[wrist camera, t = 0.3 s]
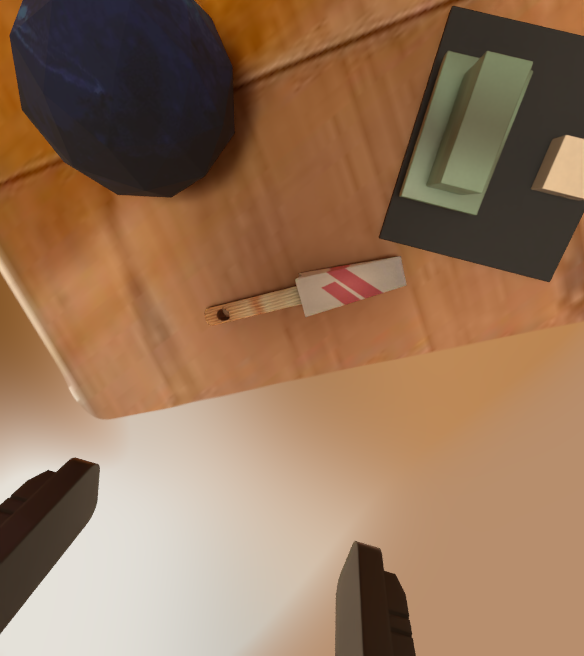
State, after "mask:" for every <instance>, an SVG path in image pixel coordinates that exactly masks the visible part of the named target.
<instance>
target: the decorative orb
mask: <svg viewBox="0 0 584 656" xmlns="http://www.w3.org/2000/svg"><path fill="white" fill-rule="evenodd" d="M10 41H11V47H12V53H13V59H14V65H15V71H16V77H17V83H18V89H19V95H20V101H21V107H22V111H23V112H24V113H25V114H26V115H27V117H28V118H29V119H30V120H31V122H32V123H33V124H34V125H35V127H36V128H37V129H38V130H39V131H40V133H41V134H42V135H43V136H44V138H45V139H46V140H47V141H48V143H49V144H50V145H51V146H52V147H53V149H54V150H55V151H56V152H57V154H58V155H59V156H60V157H61V159H62V160H63V161H64V162H65V163H67V164H68V165H70V166H72V167H73V168H75V169H76V170H78V171H80V172H81V173H83V174H85V175H86V176H88V177H90V178H91V179H93V180H94V181H96V182H98V183H99V184H101V185H103V186H104V187H106V188H108V189H109V190H111V191H112V192H114V193H116V194H117V195H133V196H153V197H173V196H174V195H176V194H177V193H179V192H181V191H182V190H184V189H185V188H187V187H188V186H190V185H192V184H193V183H195V182H196V181H198V180H199V179H201V178H203V177H204V176H205V175H206V174H207V172H208V171H209V170H210V168H211V167H212V165H213V164H214V162H215V161H216V159H217V158H218V156H219V155H220V153H221V152H222V151H223V149H224V148H225V146H226V145H227V143H228V142H229V140H230V139H231V137H232V136H233V134H234V133H235V131H234V99H233V67H232V64H231V62H230V60H229V57H228V55H227V53H226V51H225V48H224V46H223V44H222V41H221V39H220V37H219V35H218V32H217V30H216V28H215V25H214V23H213V21H212V19H211V17H210V16H209V15H208V14H207V13H206V12H205V11H204V10H203V9H202V8H201V7H200V6H199V5H198V4H197V3H196V2H195V1H194V0H23V1H22V4H21V6H20V9H19V12H18V14H17V17H16V20H15V22H14V25H13V28H12V30H11V33H10Z"/></svg>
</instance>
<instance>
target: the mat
mask: <svg viewBox="0 0 584 656" xmlns="http://www.w3.org/2000/svg"><path fill="white" fill-rule="evenodd" d="M447 51H452V52H456V53H460V54H465V55H469V56H473V57H477V58H481V57H482V56H483V55H484V54H485V53H486V51H490V52H495V53H499V54H503V55H507V56H512V57H516V58H520V59H524V60H529V61H533V65H532V67H531V70H532V71H533V74H532V76H531V79H530V81H529V84H528V86H527V89H526V91H525V94H524V96H523V99H522V101H521V104H520V107H519V109H518V112H517V114H516V117H515V119H514V122H513V124H512V127H511V129H510V132H509V134H508V137H507V139H506V142H505V145H504V147H503V150H502V152H501V155H500V157H499V160H498V162H497V165H496V167H495V170H494V172H493V175H492V177H491V180H490V182H489V185H488V188H487V190H486V193H485V195H484V198H483V200H482V203H481V205H480V208H479V210H478V213H477V215H469V214H465V213H462V212H458V211H454V210H450V209H446V208H442V207H438V206H434V205H430V204H426V203H422V202H418V201H414V200H410V199H406V198H402V197H399V194H400V191H401V188H402V185H403V182H404V179H405V175H406V172H407V169H408V166H409V163H410V160H411V157H412V154H413V150H414V147H415V144H416V141H417V138H418V135H419V132H420V129H421V126H422V122H423V119H424V116H425V113H426V110H427V107H428V104H429V101H430V97H431V94H432V91H433V88H434V85H435V82H436V79H437V76H438V72H439V69H440V66H441V63H442V60H443V57H444V56H445V54H446V53H447ZM564 135H570V136H574V137H578V138H582V139H584V36H581V35H577V34H572V33H568V32H564V31H559V30H555V29H551V28H546V27H542V26H538V25H534V24H529V23H525V22H521V21H516V20H512V19H508V18H503V17H499V16H495V15H491V14H486V13H482V12H478V11H473V10H469V9H465V8H460V7H456V6H453V7H452V8H451V10H450V13H449V17H448V20H447V23H446V26H445V29H444V33H443V36H442V39H441V42H440V45H439V48H438V52H437V55H436V58H435V61H434V64H433V68H432V71H431V74H430V77H429V80H428V83H427V87H426V90H425V93H424V96H423V99H422V103H421V106H420V109H419V112H418V115H417V118H416V122H415V125H414V128H413V131H412V134H411V138H410V141H409V144H408V147H407V150H406V153H405V157H404V160H403V163H402V166H401V169H400V173H399V176H398V179H397V182H396V185H395V188H394V192H393V195H392V198H391V201H390V204H389V207H388V211H387V214H386V217H385V220H384V223H383V227H382V230H381V233H380V236H379V238H381V239H384V240H388V241H392V242H396V243H400V244H404V245H408V246H411V247H415V248H419V249H423V250H427V251H431V252H435V253H439V254H442V255H446V256H450V257H454V258H458V259H462V260H466V261H469V262H473V263H477V264H481V265H485V266H489V267H493V268H496V269H500V270H504V271H508V272H512V273H516V274H520V275H524V276H527V277H531V278H535V279H539V280H543V281H547V282H550V280H551V278H552V276H553V274H554V272H555V270H556V268H557V266H558V264H559V262H560V260H561V258H562V256H563V254H564V252H565V250H566V248H567V246H568V244H569V242H570V240H571V238H572V236H573V233H574V231H575V229H576V227H577V225H578V223H579V221H580V219H581V217H582V215H583V213H584V201H575V200H571V199H567V198H563V197H559V196H555V195H551V194H547V193H543V192H539V191H535V190H532V189H531V187H532V185H533V183H534V180H535V178H536V176H537V174H538V171H539V169H540V167H541V164H542V162H543V160H544V157H545V155H546V153H547V150H548V148H549V146H550V144H551V141H552V139H554V138H557V137H561V136H564Z"/></svg>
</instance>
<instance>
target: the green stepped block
mask: <svg viewBox="0 0 584 656" xmlns="http://www.w3.org/2000/svg"><path fill="white" fill-rule="evenodd" d="M532 65H533V61H529V60H524V59H520V58H516V57H512V56H507V55H503V54H499V53H495V52H490V51H486V53H485V54H484V55H483V56H482V57H481V58H477V57H473V56H469V55H465V54H460V53H456V52H452V51H447V53H446V54H445V56H444V57H443V60H442V63H441V66H440V69H439V72H438V76H437V79H436V82H435V85H434V88H433V91H432V94H431V97H430V101H429V104H428V107H427V110H426V113H425V116H424V119H423V122H422V126H421V129H420V132H419V135H418V138H417V141H416V144H415V147H414V150H413V154H412V157H411V160H410V163H409V166H408V169H407V172H406V175H405V179H404V182H403V185H402V188H401V191H400V194H399V197H402V198H406V199H410V200H414V201H418V202H422V203H426V204H430V205H434V206H438V207H442V208H446V209H450V210H454V211H458V212H462V213H465V214H469V215H477V213H478V210H479V208H480V205H481V203H482V200H483V198H484V195H485V193H486V190H487V188H488V185H489V182H490V180H491V177H492V175H493V172H494V170H495V167H496V165H497V162H498V160H499V157H500V155H501V152H502V150H503V147H504V145H505V142H506V139H507V137H508V134H509V132H510V129H511V127H512V124H513V122H514V119H515V117H516V114H517V112H518V109H519V107H520V104H521V101H522V99H523V96H524V94H525V91H526V89H527V86H528V84H529V81H530V79H531V76H532V74H533V71H532V70H531V67H532Z"/></svg>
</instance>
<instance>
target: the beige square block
mask: <svg viewBox="0 0 584 656" xmlns="http://www.w3.org/2000/svg"><path fill="white" fill-rule="evenodd" d="M531 189H532V190H535V191H539V192H543V193H547V194H551V195H555V196H559V197H563V198H567V199H571V200H575V201H584V139H582V138H578V137H574V136H570V135H564V136H561V137H557V138H554V139H552V141H551V144H550V146H549V148H548V150H547V153H546V155H545V157H544V160H543V162H542V164H541V167H540V169H539V171H538V174H537V176H536V178H535V180H534V183H533V185H532V187H531Z"/></svg>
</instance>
